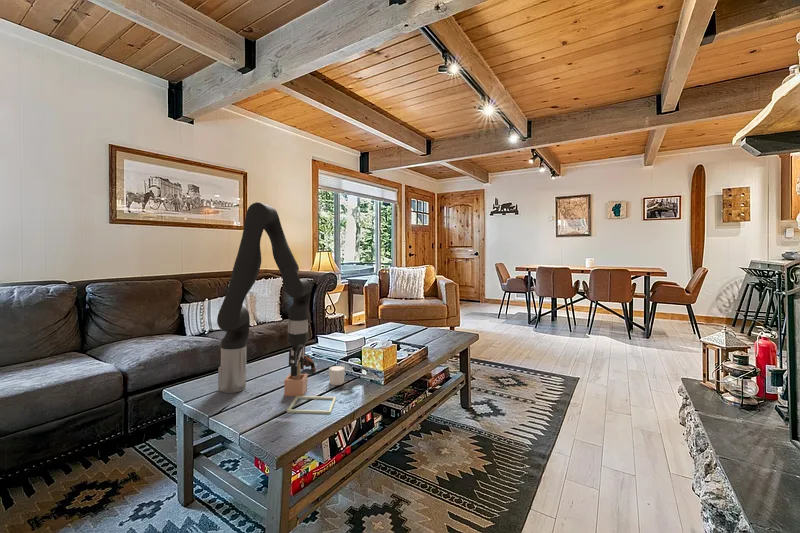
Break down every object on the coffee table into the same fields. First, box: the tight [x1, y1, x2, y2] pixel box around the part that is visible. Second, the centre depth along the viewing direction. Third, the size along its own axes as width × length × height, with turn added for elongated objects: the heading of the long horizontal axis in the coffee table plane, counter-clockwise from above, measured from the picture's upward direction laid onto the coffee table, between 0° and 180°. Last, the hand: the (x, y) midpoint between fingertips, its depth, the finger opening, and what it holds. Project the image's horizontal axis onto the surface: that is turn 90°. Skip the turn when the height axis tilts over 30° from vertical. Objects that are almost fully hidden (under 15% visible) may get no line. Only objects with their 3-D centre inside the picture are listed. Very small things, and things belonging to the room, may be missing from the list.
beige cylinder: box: [328, 365, 346, 386], centre depth 148 cm, size 7×7×7 cm
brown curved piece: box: [301, 354, 317, 373], centre depth 163 cm, size 12×10×8 cm
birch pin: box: [293, 362, 302, 380], centre depth 136 cm, size 3×3×12 cm
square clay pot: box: [283, 372, 309, 397], centre depth 137 cm, size 7×7×7 cm
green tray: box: [286, 395, 337, 415], centre depth 126 cm, size 15×12×2 cm
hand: (297, 371), depth 136 cm, fingers open, 8 cm apart
